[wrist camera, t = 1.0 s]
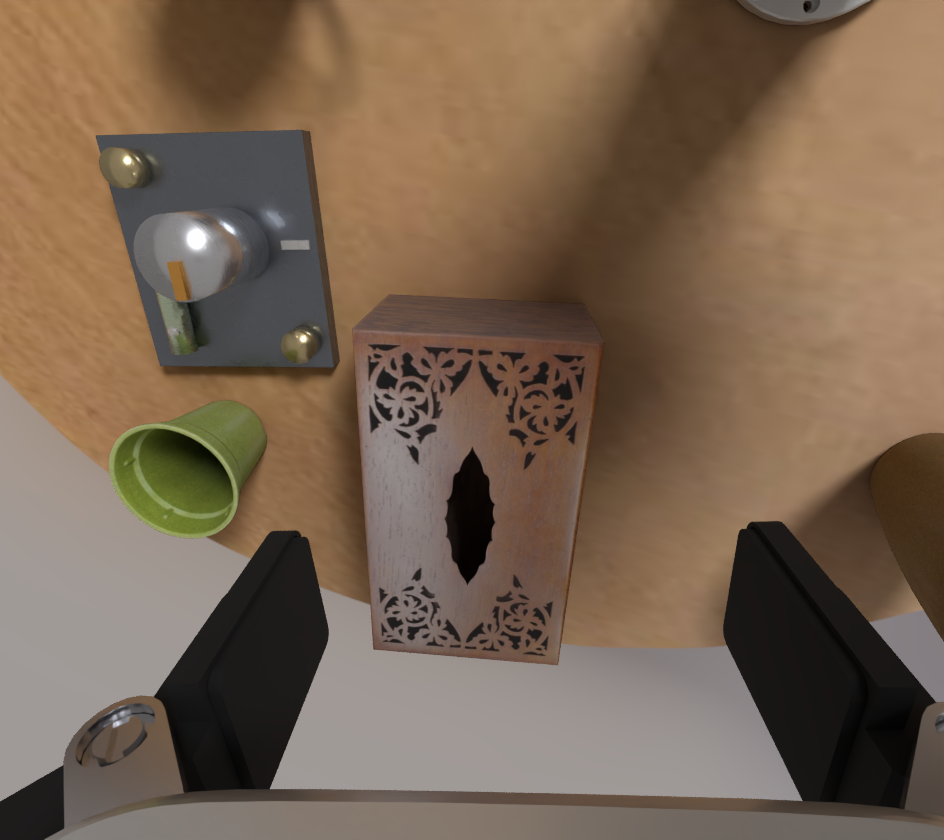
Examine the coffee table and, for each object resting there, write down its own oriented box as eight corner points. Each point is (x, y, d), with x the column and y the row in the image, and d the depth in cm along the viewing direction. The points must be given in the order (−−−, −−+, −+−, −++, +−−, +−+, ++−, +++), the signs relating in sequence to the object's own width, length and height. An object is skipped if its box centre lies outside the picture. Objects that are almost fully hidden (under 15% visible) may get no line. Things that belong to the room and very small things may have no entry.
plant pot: (165, 445, 46) (94, 500, 38) (198, 359, 43) (126, 400, 35) (262, 495, 48) (213, 558, 40) (302, 416, 44) (256, 468, 36)
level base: (111, 137, 36) (72, 133, 33) (309, 131, 35) (289, 127, 32) (171, 359, 43) (144, 374, 40) (339, 361, 42) (325, 376, 38)
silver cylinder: (191, 207, 36) (117, 214, 29) (261, 206, 36) (203, 213, 29) (208, 281, 38) (142, 303, 31) (274, 281, 38) (222, 303, 31)
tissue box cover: (389, 293, 39) (352, 328, 30) (583, 303, 39) (604, 341, 30) (399, 564, 50) (373, 649, 41) (550, 575, 49) (557, 665, 40)
